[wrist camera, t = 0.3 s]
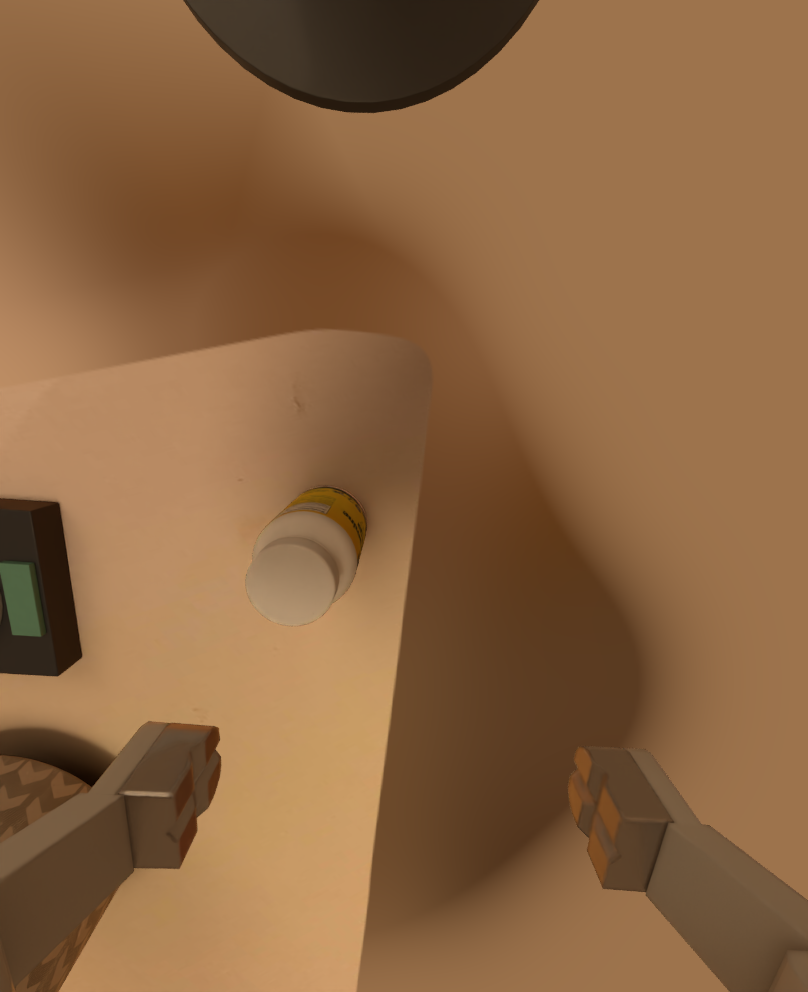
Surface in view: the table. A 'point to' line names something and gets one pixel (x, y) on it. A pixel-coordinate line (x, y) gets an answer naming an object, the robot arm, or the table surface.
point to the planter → (13, 806)
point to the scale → (35, 591)
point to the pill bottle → (307, 556)
